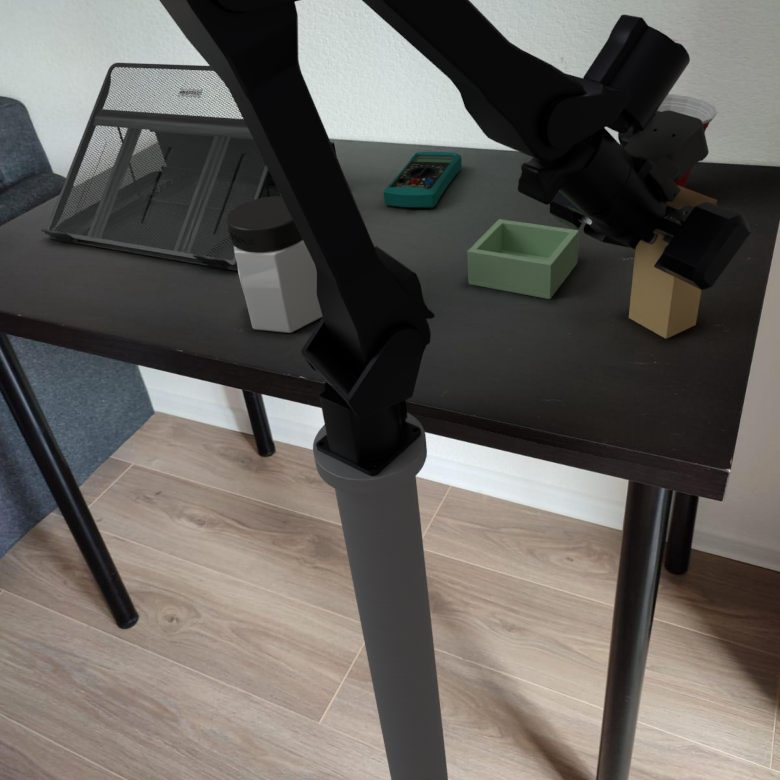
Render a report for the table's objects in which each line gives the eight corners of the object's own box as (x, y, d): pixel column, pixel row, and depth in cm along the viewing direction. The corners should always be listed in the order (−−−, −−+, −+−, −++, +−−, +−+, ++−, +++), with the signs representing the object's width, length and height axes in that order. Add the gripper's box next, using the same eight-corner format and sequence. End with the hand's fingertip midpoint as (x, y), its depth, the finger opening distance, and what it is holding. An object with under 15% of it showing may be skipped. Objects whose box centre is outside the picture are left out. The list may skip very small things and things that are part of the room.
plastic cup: (701, 220, 94) (716, 120, 87) (609, 215, 97) (616, 118, 90) (705, 185, 102) (719, 91, 94) (620, 181, 105) (628, 90, 98)
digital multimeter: (382, 209, 106) (380, 188, 104) (416, 168, 117) (414, 148, 115) (433, 212, 103) (432, 191, 102) (463, 169, 114) (462, 150, 112)
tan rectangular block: (665, 340, 74) (683, 213, 67) (626, 317, 78) (638, 195, 70) (697, 325, 76) (717, 199, 68) (657, 304, 80) (672, 183, 72)
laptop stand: (41, 243, 107) (-12, 110, 97) (172, 169, 127) (139, 51, 116) (232, 277, 94) (195, 126, 83) (346, 188, 113) (328, 55, 102)
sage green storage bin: (550, 299, 82) (551, 265, 80) (468, 284, 87) (466, 251, 84) (577, 263, 88) (579, 230, 86) (499, 250, 92) (498, 218, 90)
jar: (247, 300, 89) (224, 202, 82) (318, 287, 90) (300, 189, 82) (252, 341, 82) (226, 236, 74) (328, 326, 82) (310, 222, 75)
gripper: (756, 114, 55) (823, 215, 65) (578, 68, 69) (657, 157, 79) (662, 249, 57) (741, 325, 67) (507, 178, 70) (593, 251, 81)
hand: (680, 257), depth 74 cm, fingers closed on tan rectangular block, 5 cm apart
